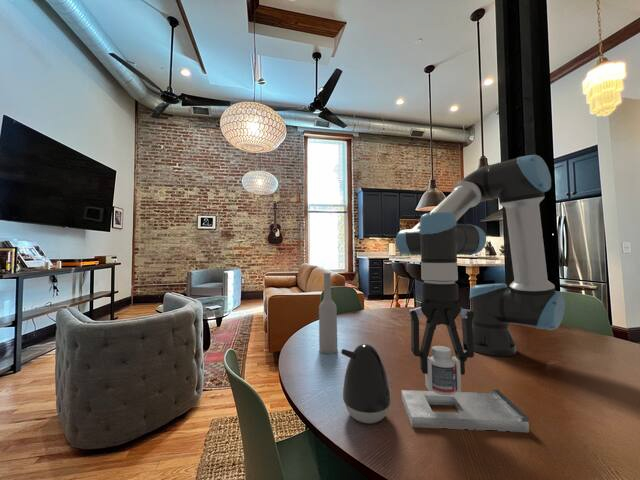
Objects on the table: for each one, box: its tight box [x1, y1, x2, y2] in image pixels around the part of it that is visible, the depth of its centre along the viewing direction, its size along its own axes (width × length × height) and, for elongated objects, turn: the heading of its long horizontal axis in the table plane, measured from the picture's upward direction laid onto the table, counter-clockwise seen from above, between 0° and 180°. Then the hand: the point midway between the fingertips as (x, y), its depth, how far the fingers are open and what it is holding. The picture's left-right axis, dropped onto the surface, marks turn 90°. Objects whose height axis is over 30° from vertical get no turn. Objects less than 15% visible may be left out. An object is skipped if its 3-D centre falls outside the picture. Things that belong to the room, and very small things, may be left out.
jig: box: [401, 389, 530, 434], centre depth 60 cm, size 22×11×3 cm, turn 84°
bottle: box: [318, 272, 338, 355], centre depth 101 cm, size 7×7×28 cm
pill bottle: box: [429, 345, 457, 395], centre depth 61 cm, size 5×5×9 cm
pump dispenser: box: [340, 343, 392, 424], centre depth 60 cm, size 10×10×15 cm
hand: (442, 388), depth 61 cm, fingers closed on pill bottle, 5 cm apart
